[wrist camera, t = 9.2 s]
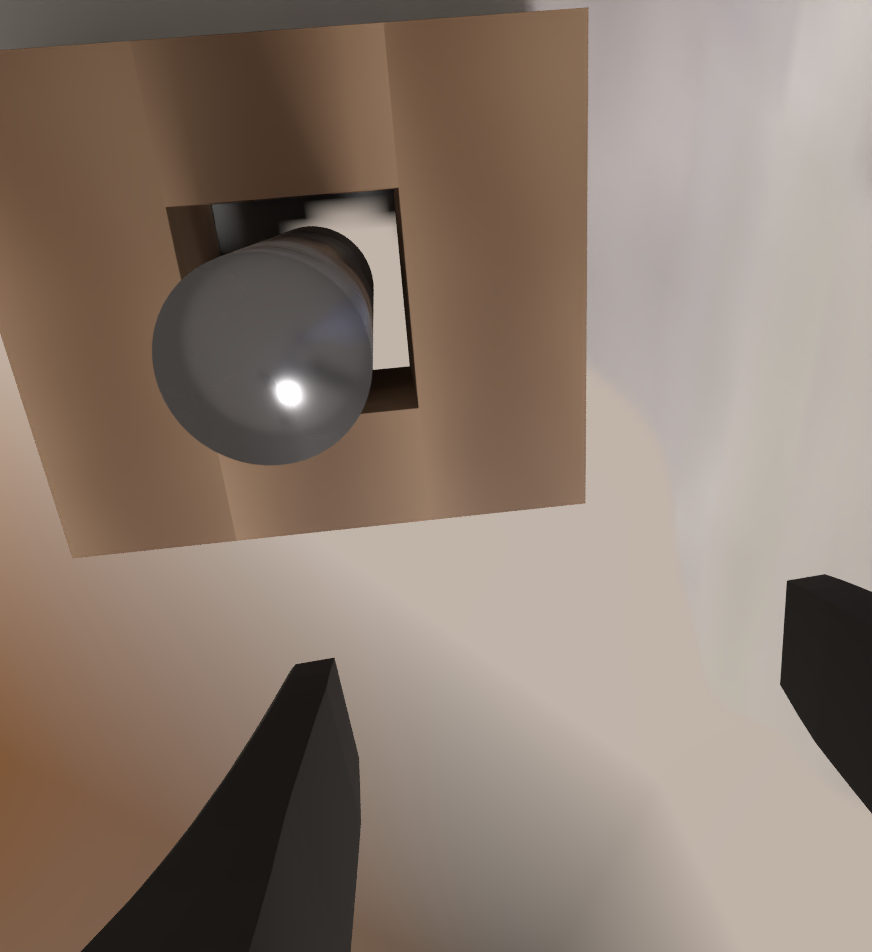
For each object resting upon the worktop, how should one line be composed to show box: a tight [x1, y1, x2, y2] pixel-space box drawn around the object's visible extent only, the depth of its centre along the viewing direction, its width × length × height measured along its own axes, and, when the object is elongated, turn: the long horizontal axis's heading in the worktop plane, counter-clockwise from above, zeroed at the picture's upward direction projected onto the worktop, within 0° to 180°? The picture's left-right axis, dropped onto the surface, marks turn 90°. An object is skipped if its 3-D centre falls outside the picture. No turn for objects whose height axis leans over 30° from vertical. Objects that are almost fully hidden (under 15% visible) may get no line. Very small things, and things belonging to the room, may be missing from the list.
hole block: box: [0, 8, 588, 558], centre depth 16 cm, size 12×10×4 cm
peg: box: [152, 226, 374, 466], centre depth 14 cm, size 3×3×9 cm
